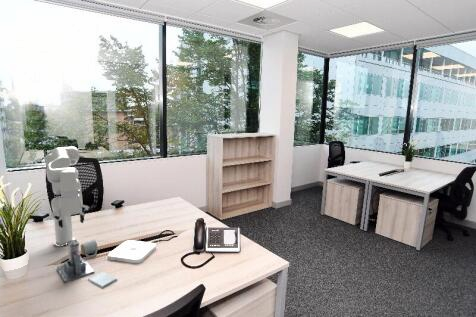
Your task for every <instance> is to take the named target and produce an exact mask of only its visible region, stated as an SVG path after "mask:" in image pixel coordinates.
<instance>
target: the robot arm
mask: <svg viewBox="0 0 476 317" xmlns="http://www.w3.org/2000/svg"><path fill="white" fill-rule="evenodd" d="M50 152H51V153H49V154H48V153H47V154H46V155H45V157H44V162H45V165H46V169H45V173H46V177H47V178H46V179H47V181H48V182H49V183H51V187H52V192H53V194H54V195H61V196H56V197H54V198H52V199H51V201H50V206H51V209H52V212H51V216H52V217H53V221H54V222H53V223H54V234H55V240H56V243H54V244H55V245H56V244H57V245H66V243H67V244H68V241H72V240H76V237H74V236H73V224H72V223H73V222H72V216H73V215H79V214H80V215H79V220H80V221H79V223H81V224H84V221H85V215H86V213H87V212H88V210H89V208H90V206H88V205H85V204H83V194H82V184H81V181H80V180H79V170H78V169H77V168H76V167H71V166H75V165H76V164H77V163H78V161H79V159H80V150H79V149H78V148H77V147H76V146H61V147H60V146H59V147H55V148H53V149H52V150H51V151H50ZM83 208H84V209H83ZM73 237H74V238H73ZM66 246H67V245H66Z"/></svg>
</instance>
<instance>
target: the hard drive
mask: <svg viewBox="0 0 476 317" xmlns="http://www.w3.org/2000/svg"><path fill="white" fill-rule="evenodd" d="M87 281H89V282H91V283H92V284H93V285H96V286H97V287H100V288H102V289H104V288H106V287H108V286H109V285H111V284H113V283H115V282H116V281H118V278H116V277H114V276H112V275H110V274H108V273H106V272H104V271H101V272H98V273H97V274H95V275H92V276H91V277H88V279H87Z"/></svg>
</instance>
